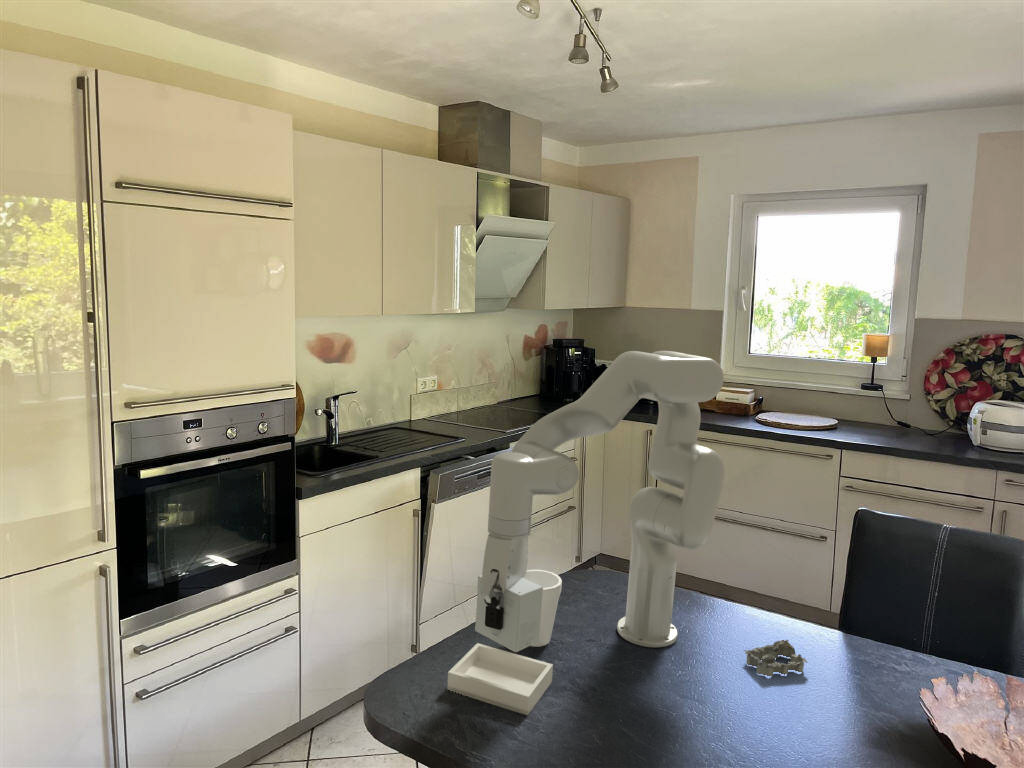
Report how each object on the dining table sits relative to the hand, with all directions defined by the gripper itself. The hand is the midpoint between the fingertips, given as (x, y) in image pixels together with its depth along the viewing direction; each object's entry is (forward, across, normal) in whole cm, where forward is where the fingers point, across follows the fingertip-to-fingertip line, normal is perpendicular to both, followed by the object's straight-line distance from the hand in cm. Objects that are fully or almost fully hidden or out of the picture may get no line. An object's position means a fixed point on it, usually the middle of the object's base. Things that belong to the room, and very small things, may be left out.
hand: (503, 617), depth 132 cm
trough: (+13, 0, 0) cm, 13 cm away
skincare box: (+3, 0, +1) cm, 4 cm away
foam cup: (+14, -19, -1) cm, 24 cm away
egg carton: (+14, -32, +45) cm, 57 cm away
